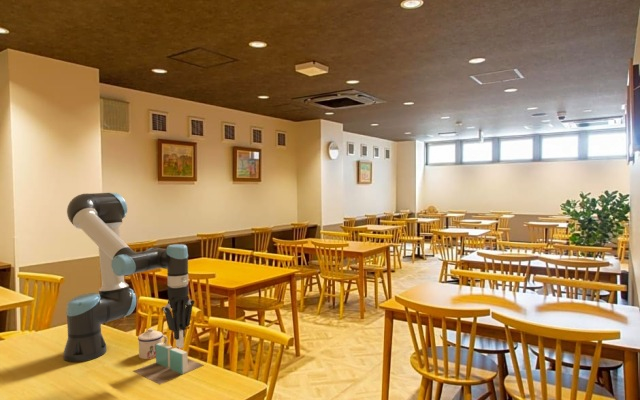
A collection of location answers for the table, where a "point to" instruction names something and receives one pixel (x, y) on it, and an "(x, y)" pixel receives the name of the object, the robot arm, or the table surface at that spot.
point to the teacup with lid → (150, 343)
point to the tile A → (163, 354)
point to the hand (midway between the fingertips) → (179, 346)
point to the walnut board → (164, 371)
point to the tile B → (178, 360)
